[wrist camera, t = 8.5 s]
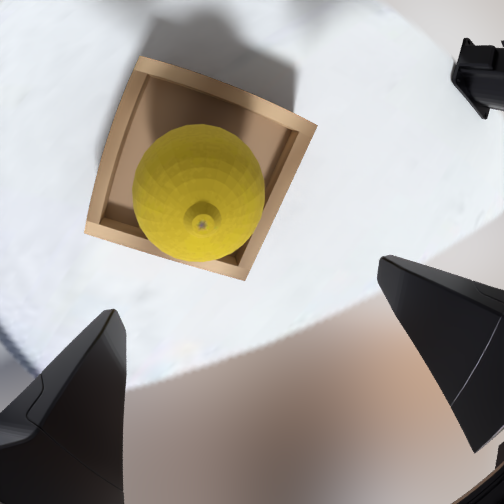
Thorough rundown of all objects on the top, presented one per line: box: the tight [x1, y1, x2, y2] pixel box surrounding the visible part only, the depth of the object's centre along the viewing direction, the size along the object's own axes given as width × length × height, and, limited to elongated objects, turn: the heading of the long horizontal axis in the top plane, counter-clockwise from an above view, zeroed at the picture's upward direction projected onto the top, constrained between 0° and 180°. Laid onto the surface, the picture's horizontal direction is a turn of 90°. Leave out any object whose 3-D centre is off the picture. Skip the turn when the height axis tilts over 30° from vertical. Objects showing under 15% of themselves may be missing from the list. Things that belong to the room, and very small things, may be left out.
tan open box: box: [84, 56, 318, 281], centre depth 16 cm, size 10×10×4 cm
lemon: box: [132, 124, 265, 262], centre depth 12 cm, size 6×6×8 cm
